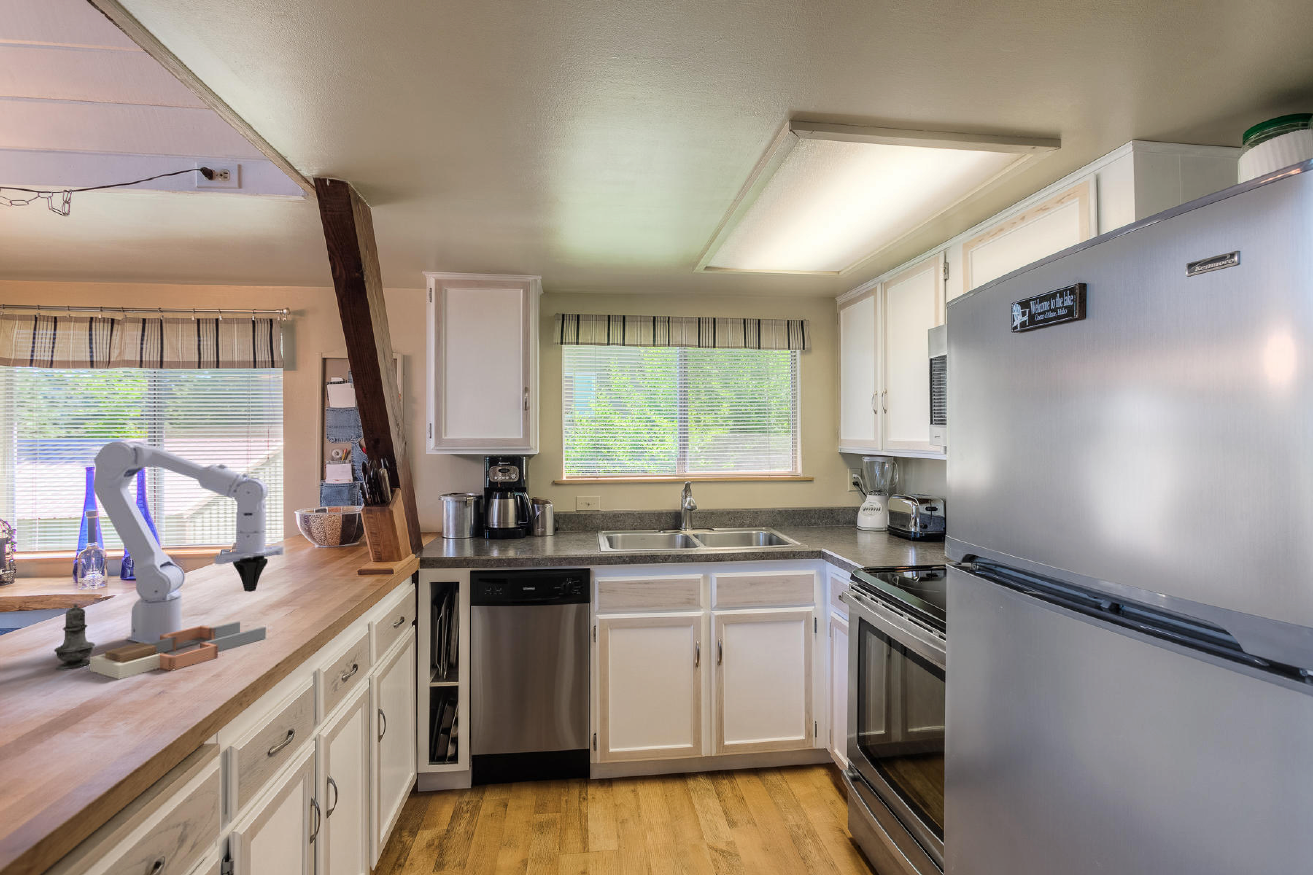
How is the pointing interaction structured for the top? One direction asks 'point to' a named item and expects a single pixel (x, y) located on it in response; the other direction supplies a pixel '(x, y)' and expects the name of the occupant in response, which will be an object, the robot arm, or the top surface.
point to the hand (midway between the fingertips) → (249, 590)
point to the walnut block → (131, 652)
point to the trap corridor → (203, 635)
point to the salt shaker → (74, 641)
